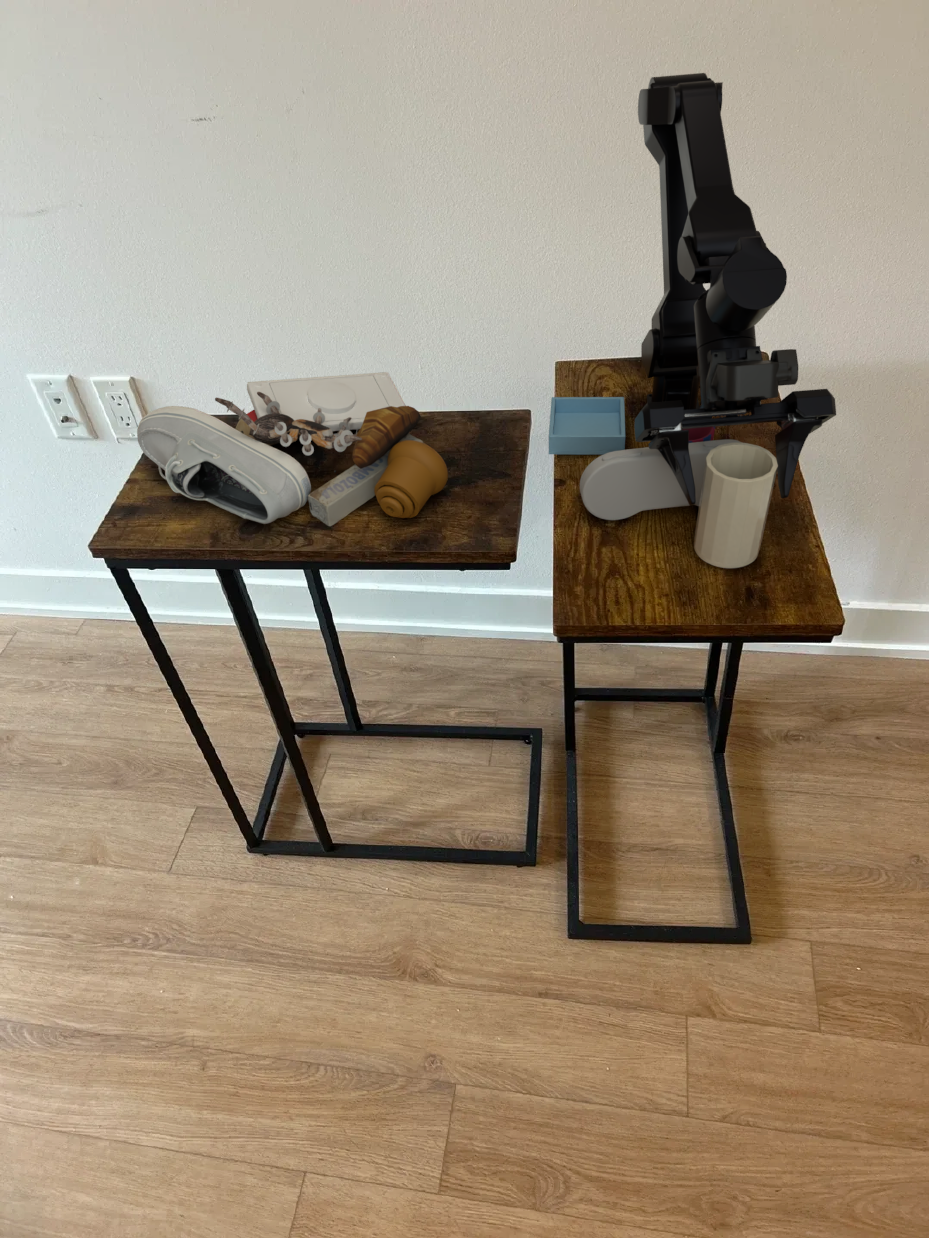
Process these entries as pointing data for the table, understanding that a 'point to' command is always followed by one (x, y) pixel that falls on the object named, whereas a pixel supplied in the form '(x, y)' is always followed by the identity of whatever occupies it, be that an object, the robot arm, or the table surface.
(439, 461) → the ornamental finial
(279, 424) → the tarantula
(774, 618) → the table surface
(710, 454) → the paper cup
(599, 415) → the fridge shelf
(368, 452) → the croissant
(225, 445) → the boat shoe
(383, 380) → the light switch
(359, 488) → the grey printed bar
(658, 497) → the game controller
